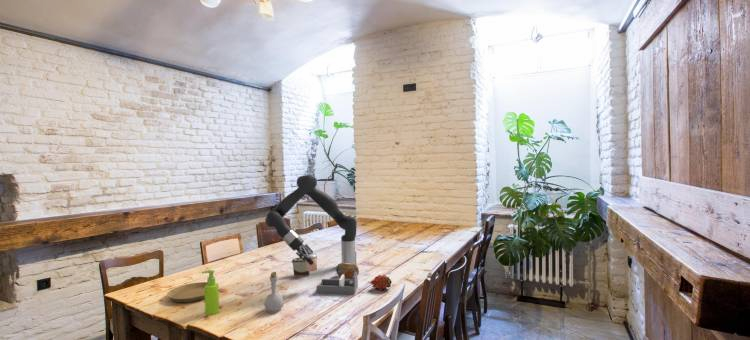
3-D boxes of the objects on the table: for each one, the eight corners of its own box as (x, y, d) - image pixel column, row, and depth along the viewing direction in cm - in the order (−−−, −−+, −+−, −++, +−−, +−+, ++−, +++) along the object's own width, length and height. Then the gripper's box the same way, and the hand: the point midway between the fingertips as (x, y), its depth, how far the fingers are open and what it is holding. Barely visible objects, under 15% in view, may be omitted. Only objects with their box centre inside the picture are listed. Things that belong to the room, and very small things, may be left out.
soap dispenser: (205, 310, 168) (204, 269, 167) (220, 309, 168) (219, 268, 168) (200, 316, 162) (199, 273, 161) (216, 315, 163) (215, 272, 162)
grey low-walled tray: (316, 293, 188) (316, 276, 188) (322, 285, 199) (321, 270, 199) (354, 294, 186) (354, 277, 186) (357, 287, 197) (357, 271, 196)
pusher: (339, 290, 188) (339, 279, 188) (342, 285, 196) (342, 274, 196) (341, 290, 188) (341, 279, 188) (344, 285, 196) (344, 274, 196)
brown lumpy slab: (335, 276, 216) (335, 262, 215) (338, 274, 218) (338, 261, 218) (357, 279, 209) (356, 265, 208) (359, 278, 211) (359, 264, 211)
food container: (313, 272, 222) (313, 257, 222) (311, 276, 216) (311, 260, 215) (295, 272, 223) (294, 256, 223) (291, 275, 217) (291, 259, 217)
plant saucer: (171, 291, 194) (171, 285, 194) (219, 285, 203) (219, 279, 203) (162, 308, 172) (162, 301, 172) (216, 300, 180) (216, 294, 180)
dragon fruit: (393, 292, 192) (371, 295, 193) (392, 279, 199) (371, 282, 200) (391, 283, 187) (369, 286, 188) (390, 270, 194) (368, 273, 194)
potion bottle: (287, 307, 171) (286, 270, 170) (276, 315, 162) (275, 276, 162) (271, 305, 174) (271, 268, 173) (260, 312, 165) (259, 274, 165)
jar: (314, 267, 198) (314, 253, 198) (318, 270, 193) (318, 255, 192) (304, 269, 195) (303, 254, 194) (308, 272, 189) (307, 257, 189)
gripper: (293, 238, 187) (315, 261, 186) (301, 232, 201) (322, 253, 200) (283, 248, 187) (305, 270, 187) (293, 241, 202) (313, 262, 201)
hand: (314, 261), depth 193 cm, fingers closed on jar, 6 cm apart
